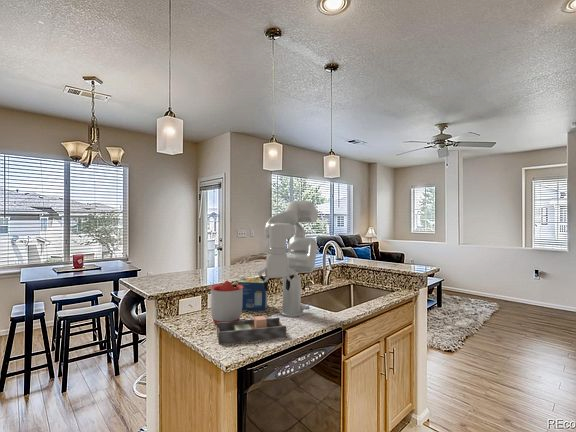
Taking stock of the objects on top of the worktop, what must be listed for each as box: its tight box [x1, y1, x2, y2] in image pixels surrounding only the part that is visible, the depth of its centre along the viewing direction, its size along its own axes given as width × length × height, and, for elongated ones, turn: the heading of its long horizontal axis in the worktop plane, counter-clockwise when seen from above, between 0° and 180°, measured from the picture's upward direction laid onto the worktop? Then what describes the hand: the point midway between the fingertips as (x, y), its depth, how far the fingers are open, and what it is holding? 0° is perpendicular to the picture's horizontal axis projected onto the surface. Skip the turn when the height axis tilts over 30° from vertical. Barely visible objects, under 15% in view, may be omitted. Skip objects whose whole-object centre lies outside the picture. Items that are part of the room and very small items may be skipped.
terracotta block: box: [253, 315, 267, 328], centre depth 134 cm, size 4×4×4 cm
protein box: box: [237, 277, 268, 312], centre depth 173 cm, size 10×15×16 cm
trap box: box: [216, 317, 287, 345], centre depth 133 cm, size 28×12×4 cm, turn 107°
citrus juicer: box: [210, 280, 243, 325], centre depth 150 cm, size 16×17×20 cm
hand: (276, 290), depth 137 cm, fingers open, 9 cm apart
